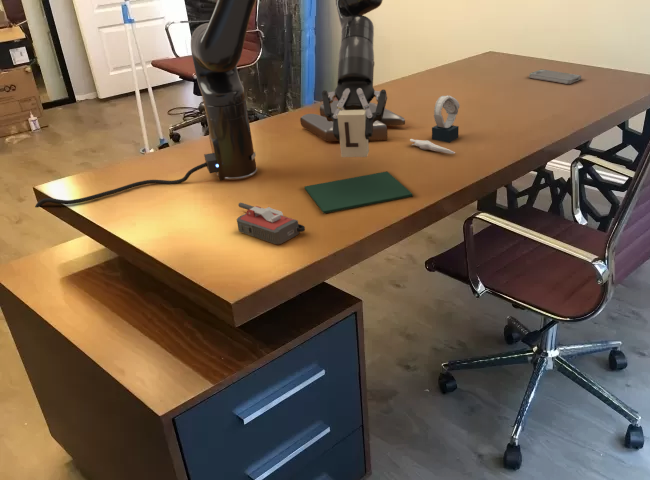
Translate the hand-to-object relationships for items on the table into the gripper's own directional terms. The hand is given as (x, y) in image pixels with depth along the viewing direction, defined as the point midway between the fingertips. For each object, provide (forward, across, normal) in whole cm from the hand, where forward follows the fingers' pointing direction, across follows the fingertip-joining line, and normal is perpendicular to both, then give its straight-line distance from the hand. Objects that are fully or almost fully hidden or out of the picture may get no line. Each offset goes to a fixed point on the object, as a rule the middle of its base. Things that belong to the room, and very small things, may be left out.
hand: (352, 137), depth 136 cm
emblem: (-24, -8, +43) cm, 50 cm away
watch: (-17, +18, +36) cm, 44 cm away
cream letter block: (+2, 0, +4) cm, 5 cm away
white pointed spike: (-15, +15, +31) cm, 37 cm away
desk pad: (+8, 0, +10) cm, 13 cm away
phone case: (-54, +57, +73) cm, 107 cm away
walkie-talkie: (+20, -17, -2) cm, 27 cm away
